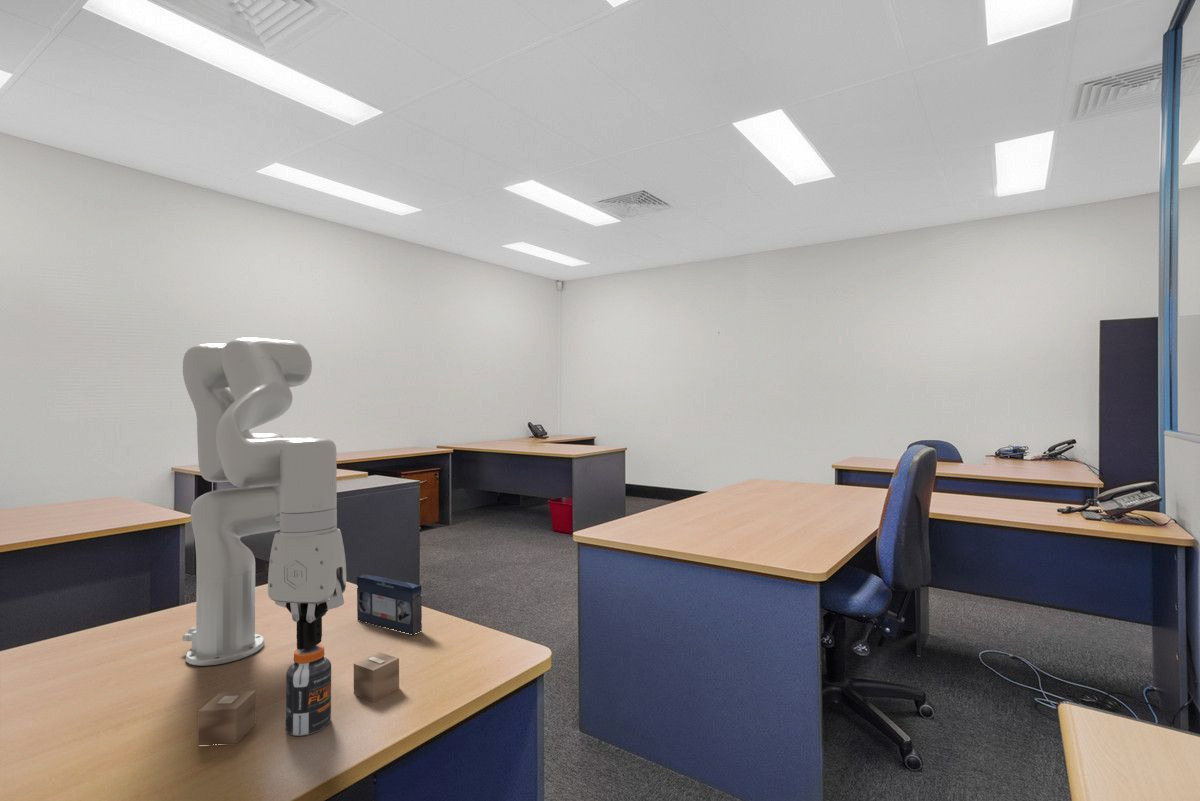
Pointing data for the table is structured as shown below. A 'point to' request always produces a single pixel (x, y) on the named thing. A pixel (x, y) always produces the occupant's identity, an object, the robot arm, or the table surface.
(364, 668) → the marked cube two
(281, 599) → the robot arm
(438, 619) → the table surface
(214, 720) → the marked cube one
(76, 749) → the table surface
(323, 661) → the pill bottle
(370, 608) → the vhs cassette tape
